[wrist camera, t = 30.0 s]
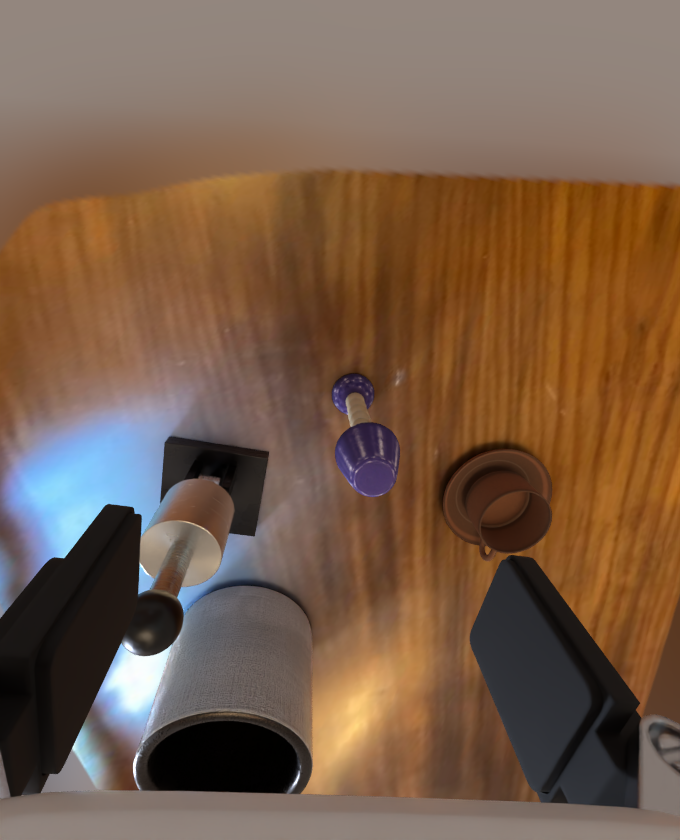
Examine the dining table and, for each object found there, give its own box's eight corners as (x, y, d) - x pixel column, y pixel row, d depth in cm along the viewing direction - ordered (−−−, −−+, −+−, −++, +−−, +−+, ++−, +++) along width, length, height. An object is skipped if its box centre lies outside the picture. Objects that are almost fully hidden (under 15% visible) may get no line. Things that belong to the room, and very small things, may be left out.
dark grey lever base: (169, 436, 42) (142, 470, 35) (269, 452, 44) (262, 488, 37) (162, 516, 46) (137, 562, 39) (256, 528, 47) (247, 574, 40)
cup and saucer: (537, 530, 50) (567, 565, 44) (437, 540, 49) (454, 577, 44) (548, 437, 46) (583, 463, 40) (439, 447, 45) (458, 475, 39)
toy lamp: (367, 421, 43) (402, 513, 28) (323, 414, 43) (332, 504, 27) (378, 376, 42) (420, 447, 26) (331, 369, 41) (347, 437, 26)
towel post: (181, 448, 40) (83, 601, 22) (246, 457, 40) (200, 612, 23) (176, 502, 42) (84, 680, 24) (238, 510, 42) (190, 689, 25)
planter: (331, 651, 54) (341, 794, 40) (219, 692, 56) (188, 846, 41) (278, 559, 49) (266, 687, 34) (154, 608, 50) (92, 751, 35)
